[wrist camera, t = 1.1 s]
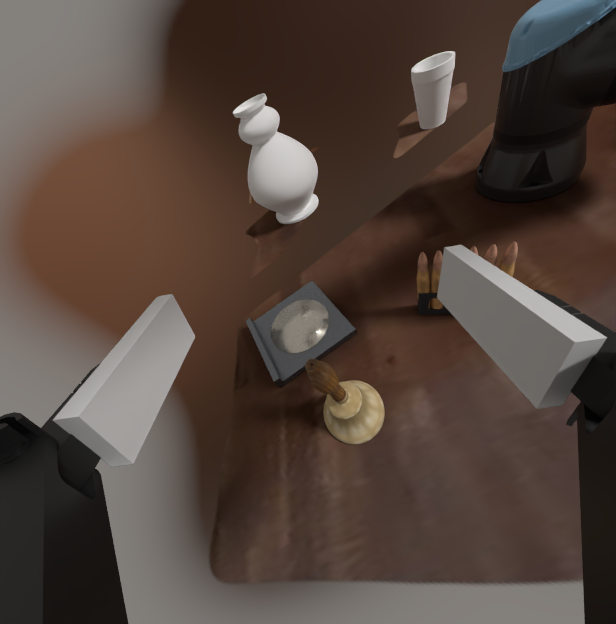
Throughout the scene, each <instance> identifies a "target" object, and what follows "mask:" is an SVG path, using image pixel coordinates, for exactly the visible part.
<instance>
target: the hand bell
mask: <svg viewBox="0 0 616 624" xmlns="http://www.w3.org/2000/svg"><path fill="white" fill-rule="evenodd" d="M305 368H306V370H307V376H308V379H309V381H310V383H311V384H312V385H313V386H314V387H315V388H316V389H317V390H318V391H320V392H322V393H325V394H327V397H326V401H325V404H324V410H323V413H324V420H325V423H326V426H327V428H328V430H329V431H330V433H331V434H332V435H333V436H334V437H335V438H337V439H338V440H340V441H341V442H344V443H347V444H363V443H365V442H367V441H369V440H371V439H372V438H373V437H374V436H375V435H376V434H377V433H378V432H379V430H380V429H381V427H382V424H383V421H384V415H385V411H384V405H383V401H382V399H381V397H380V395H379V394H378V392H377V391H376V390H375V389H374V388H373V387H372V386H370V385H369V384H367V383H364V382H361V381H346V382H339V379H338V376H337V374H336V372H335V371H334V369H333V368H332V367H331V366H330V365H329V364H327V363H325V362H323V361H319V360H317V359H309V360H308V361H307V362H306V365H305Z"/></svg>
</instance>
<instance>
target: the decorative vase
mask: <svg viewBox="0 0 616 624" xmlns="http://www.w3.org/2000/svg"><path fill="white" fill-rule="evenodd" d="M266 100H267V98H266V95H265V94H259V95H257V96H255V97H253V98H251V99H249V100H247V101H246V102H244V103H243V104H241V105H240V106H238V107H237V108H236V109H235V110H234V111H233V114H234V116H235V117H236V118H241V122H240V125H239V135H240V138H241V139H242V140H243V141H245V142H246V143H249V144H252V145H253V147H252V151H251V156H250V160H249V166H248V185H249V190H250V192H251V194H252V196H253V198H254V199H255V201H256V202H257V203H258V204H260V205H261V206H263V207H265V208H267V209H270V210H272V211H275V212H277V213H276V219H277V220H278V222H280V223H282V224H292V223H296V222H299V221H301V220H303V219H305V218H306V217H308V216H309V215H310V214H311V213H313V211H314V210H315V209H316V208H317V206H318V198H317V196H316V195H315V194H312V193H313V190H314V187H315V184H316V180H317V175H318V168H317V164H316V161H315V159H314V157H313V155H312V153H311V152H310V151H309V150H308V149H307V148H306V147H305V146H303V145H302V144H301V143H299V142H298V141H296V140H294V139H293V138H291V137H288V136H286V135H284V134H282V133H279V132H277V129H278V125H279V114H278V113H277V111H276V110H274V109H273V108H271V107H268V106H265V104H264V103H265V102H266Z"/></svg>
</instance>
